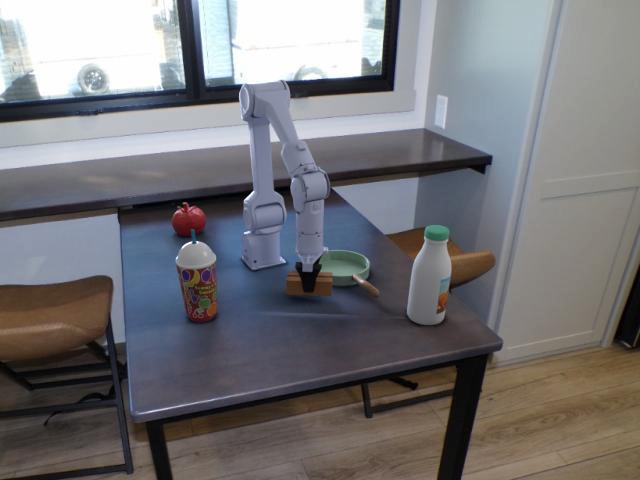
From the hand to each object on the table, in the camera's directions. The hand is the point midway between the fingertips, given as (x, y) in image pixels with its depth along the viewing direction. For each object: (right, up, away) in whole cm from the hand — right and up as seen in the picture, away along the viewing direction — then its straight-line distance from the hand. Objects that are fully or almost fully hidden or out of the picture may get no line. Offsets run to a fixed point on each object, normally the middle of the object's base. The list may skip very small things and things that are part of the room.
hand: (309, 286), depth 116 cm
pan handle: (+13, -1, +2) cm, 13 cm away
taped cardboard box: (0, -1, +1) cm, 1 cm away
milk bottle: (+24, -7, -6) cm, 26 cm away
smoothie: (-24, -7, -3) cm, 25 cm away
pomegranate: (-33, +17, +38) cm, 53 cm away
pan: (+8, +3, +13) cm, 16 cm away
